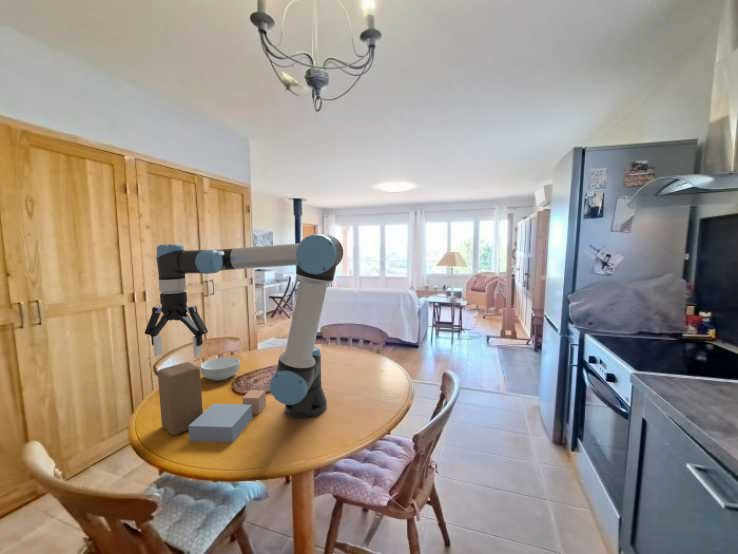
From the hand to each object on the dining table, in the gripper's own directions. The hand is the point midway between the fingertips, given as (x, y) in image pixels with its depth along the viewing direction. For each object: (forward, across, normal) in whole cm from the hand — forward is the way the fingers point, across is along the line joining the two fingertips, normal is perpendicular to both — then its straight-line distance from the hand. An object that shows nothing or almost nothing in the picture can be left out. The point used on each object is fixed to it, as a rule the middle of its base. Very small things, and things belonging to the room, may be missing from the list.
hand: (178, 355), depth 107 cm
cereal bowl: (+25, +8, -39) cm, 47 cm away
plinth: (+24, -15, +2) cm, 29 cm away
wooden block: (+24, 0, 0) cm, 25 cm away
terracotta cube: (+24, -20, -11) cm, 34 cm away
